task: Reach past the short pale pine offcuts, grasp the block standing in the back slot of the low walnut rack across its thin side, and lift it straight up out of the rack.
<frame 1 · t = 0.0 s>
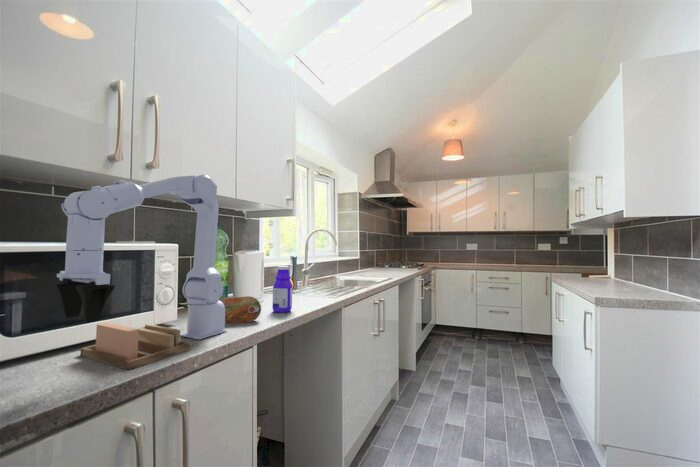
hand: (81, 319, 61), 10 cm above the countertop, tool pointing down, fingers open, 7 cm apart
bottle: (282, 312, 117), on the countertop
block: (115, 359, 67), resting in rack
offcuts: (155, 346, 75), resting in rack
tin: (236, 323, 100), on the countertop
rack: (139, 351, 72), on the countertop
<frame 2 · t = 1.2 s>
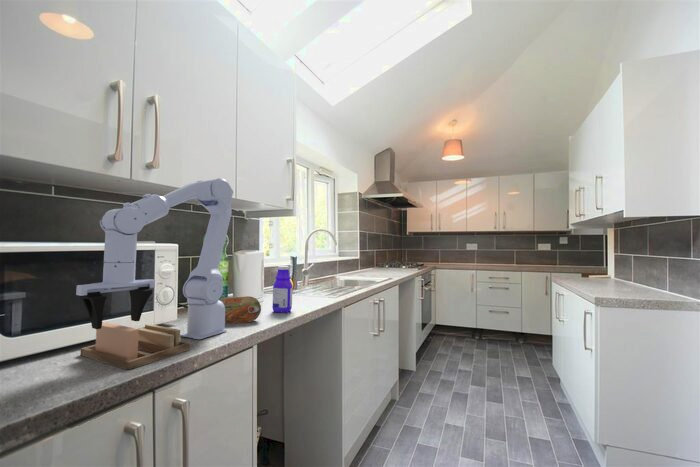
hand: (117, 324, 67), 7 cm above the countertop, tool pointing down, fingers open, 7 cm apart
nothing on the countertop moved.
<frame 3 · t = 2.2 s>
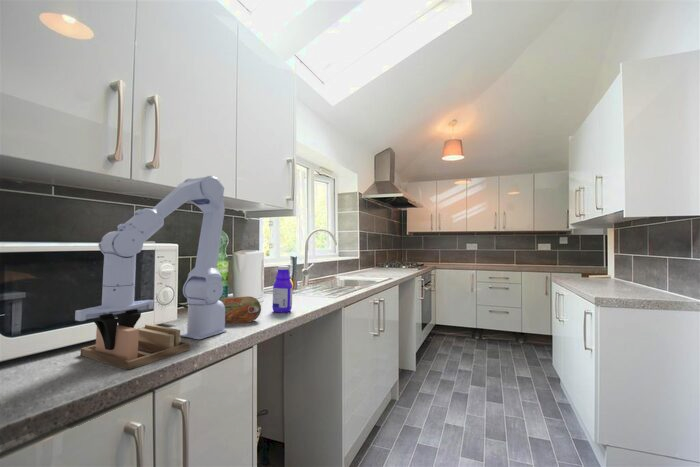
hand: (116, 347, 67), 2 cm above the countertop, tool pointing down, fingers closed on block, 2 cm apart
block: (115, 359, 67), resting in rack, touching gripper
everything else where it was.
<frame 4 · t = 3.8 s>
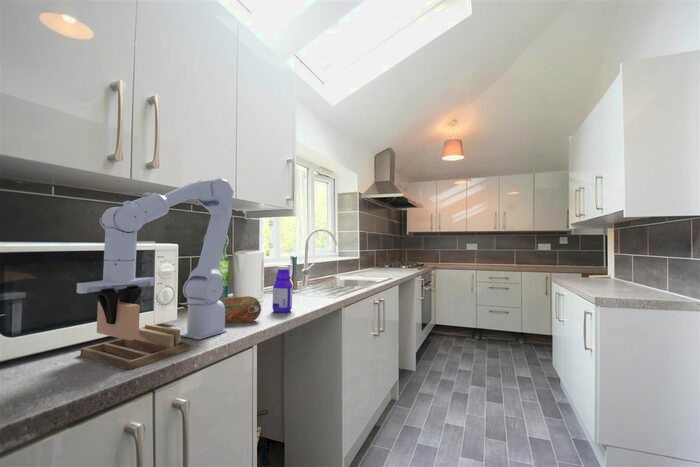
hand: (117, 322, 67), 8 cm above the countertop, tool pointing down, fingers closed on block
block: (117, 335, 67), point 5 cm above the countertop, touching gripper
everything else where it was.
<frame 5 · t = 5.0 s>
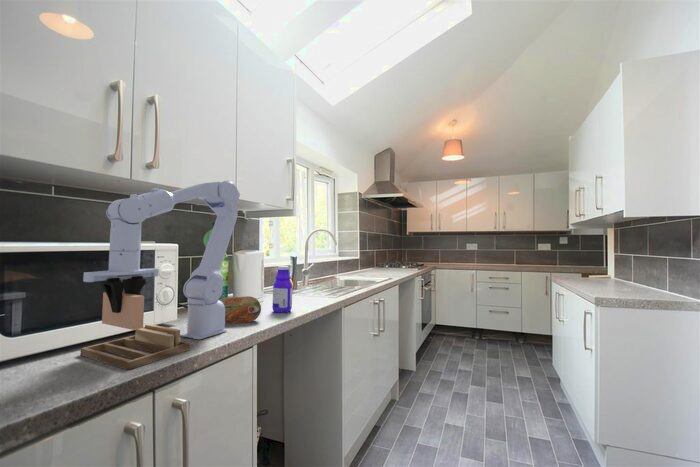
hand: (122, 311, 69), 10 cm above the countertop, tool pointing down, fingers closed on block
block: (122, 325, 69), point 7 cm above the countertop, touching gripper
everything else where it was.
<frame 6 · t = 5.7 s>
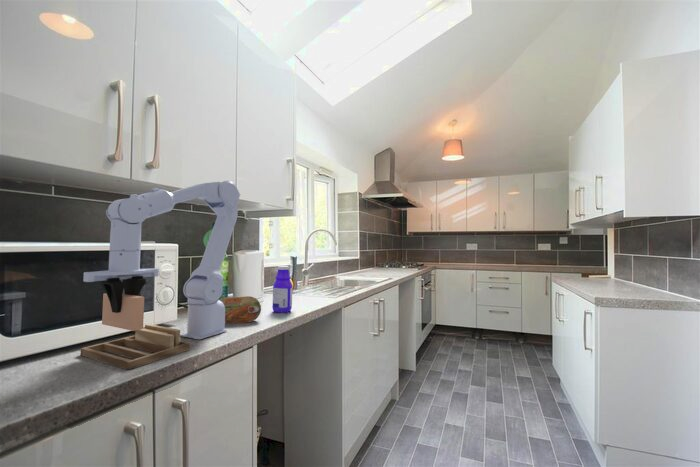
hand: (122, 311, 69), 10 cm above the countertop, tool pointing down, fingers closed on block
block: (122, 326, 69), point 6 cm above the countertop, touching gripper
everything else where it was.
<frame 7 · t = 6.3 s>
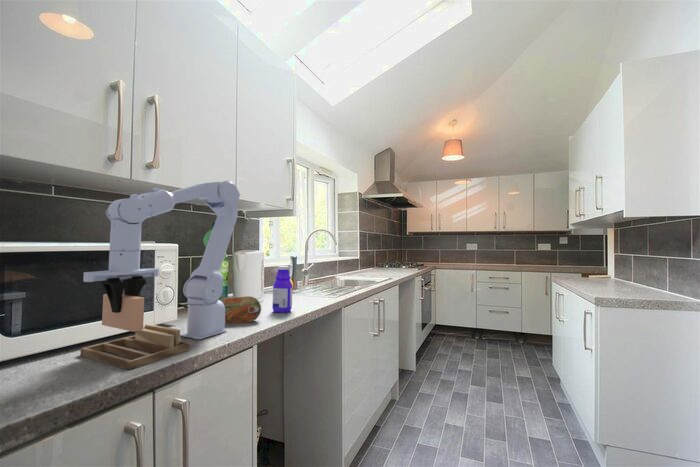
hand: (122, 311, 69), 10 cm above the countertop, tool pointing down, fingers closed on block
block: (121, 327, 69), point 6 cm above the countertop, touching gripper
everything else where it was.
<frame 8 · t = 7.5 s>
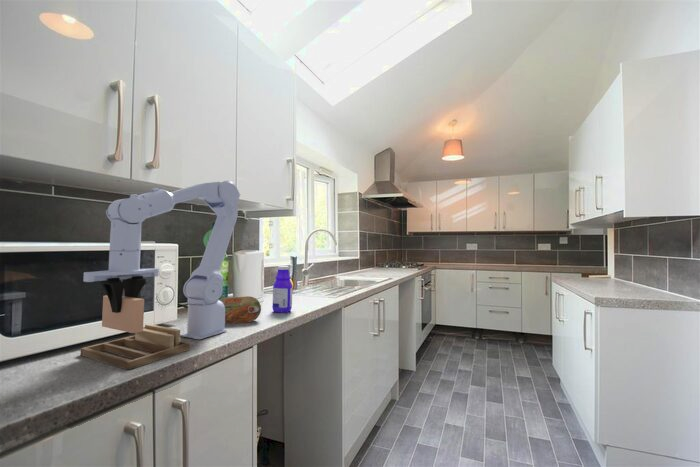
hand: (122, 311, 69), 10 cm above the countertop, tool pointing down, fingers closed on block
block: (121, 328, 69), point 6 cm above the countertop, touching gripper
everything else where it was.
at the end: the gripper is holding block; block point 5.9 cm above the countertop; block touching gripper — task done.
